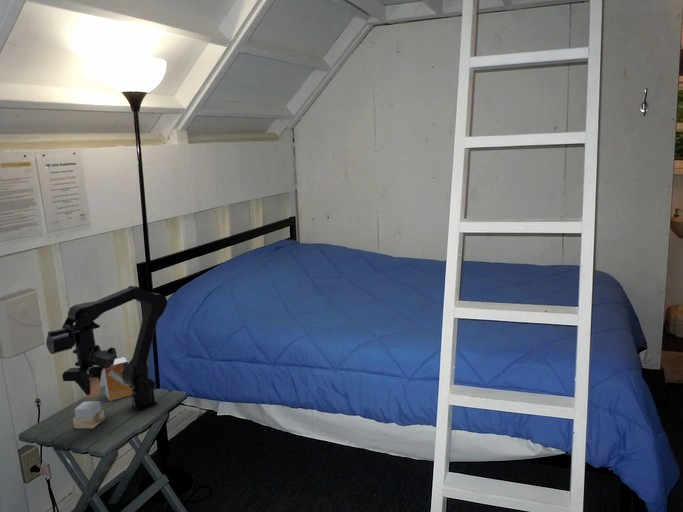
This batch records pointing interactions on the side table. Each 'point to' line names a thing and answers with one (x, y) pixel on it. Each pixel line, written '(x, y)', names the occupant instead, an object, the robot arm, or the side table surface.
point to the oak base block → (89, 420)
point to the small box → (116, 380)
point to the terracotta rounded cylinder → (94, 387)
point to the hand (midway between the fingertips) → (92, 391)
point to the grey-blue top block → (87, 409)
